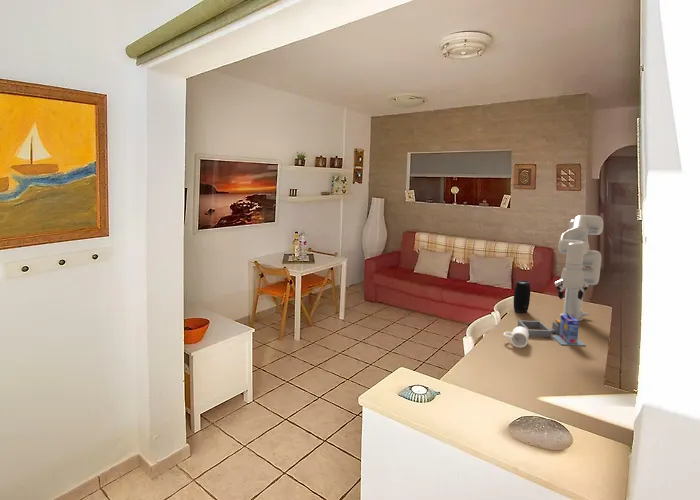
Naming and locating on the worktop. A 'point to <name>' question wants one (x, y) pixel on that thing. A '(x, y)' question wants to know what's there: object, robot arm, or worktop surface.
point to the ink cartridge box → (569, 328)
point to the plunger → (558, 321)
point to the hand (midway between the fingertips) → (570, 298)
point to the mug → (518, 336)
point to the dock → (543, 330)
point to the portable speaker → (521, 296)
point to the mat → (565, 342)
